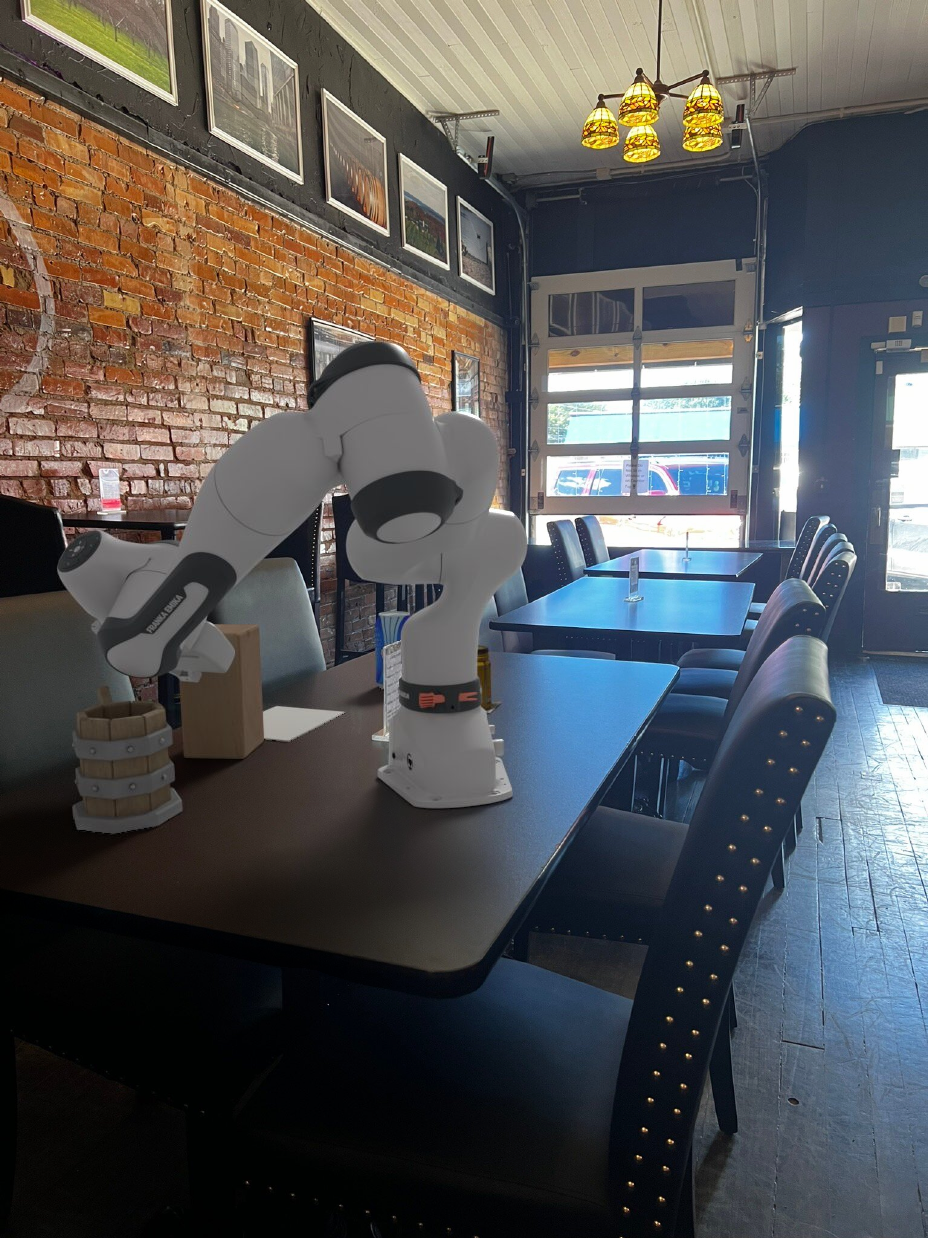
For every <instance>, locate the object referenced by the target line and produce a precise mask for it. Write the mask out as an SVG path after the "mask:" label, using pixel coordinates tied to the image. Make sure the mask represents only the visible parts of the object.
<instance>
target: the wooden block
mask: <svg viewBox="0 0 928 1238" xmlns="http://www.w3.org/2000/svg"><path fill="white" fill-rule="evenodd" d="M212 624H213V625H215V626H216V627H217V628H218V629H219V630H220V631H221V632H222V634H223V635H224V636H225V637H226V638H227V640H228V641H229V642H230V644H231V645H232V647H233V648H234V650H235V656H234V659H233V661H232V663H231V665H230V667H229V669H228V670H227V672H226V673H213V672H201V673H202V676H201V678H200V680H199V682H189V681H181V680H180V679H179V678H178V679H179V699H180V712H181V713H180V714H181V715H180V716H181V729H182V731H181V733H182V745H183V746H182V747H183V757H184V758H187V759H213V760H214V759H215V760H216V759H217V760H218V759H221V760H223V759H225V760H226V759H227V760H244V759H246V757H248V756H249V755H250V754H252V753H253V752H254V751H255V750H256V749H257V748H258V747H259V746H260V745H262V744H263V743H264V741H265V740H264V724H263V712H264V708H263V707H264V706H263V705H264V703H263V686H262V668H261V667H262V664H261V661H262V660H261V659H262V658H261V641H260V638H261V637H260V626H259V624H256V623H255V624H252V623H251V624H249V623H248V624H242V623H240V624H239V623H238V624H237V623H236V624H235V623H233V624H232V623H228V624H227V623H226V624H225V623H224V624H221V623H217V624H214V623H212Z"/></svg>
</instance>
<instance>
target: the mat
mask: <svg viewBox="0 0 928 1238" xmlns="http://www.w3.org/2000/svg"><path fill="white" fill-rule="evenodd" d="M344 713H345V714H346V712H345V711H340V710H339V711H337V710H327V709H315V708H301V707H291V706H281V705H280V706H279V705H276V706H274V707H271V708H268V709H266V710H263V724H264V739H265V740H264V741H272V740H276V741H275V742H284V743H290V742H291V740H292V741H294V740H295V739H296V740H297V737H298V738H300V737H302V736H304V735H306V734H307V733H310V732H311V731H313V730H316V729H317V728H319V727H321V726H323V725H325V724H327V723H329V722H331V721H334V720H335V719H337V718H339V717H341V716H343V715H345V714H344ZM342 714H343V715H342ZM338 716H339V717H338ZM336 717H337V718H336ZM330 720H331V721H330ZM324 723H325V724H324ZM315 728H316V729H315ZM309 731H310V732H309Z"/></svg>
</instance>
